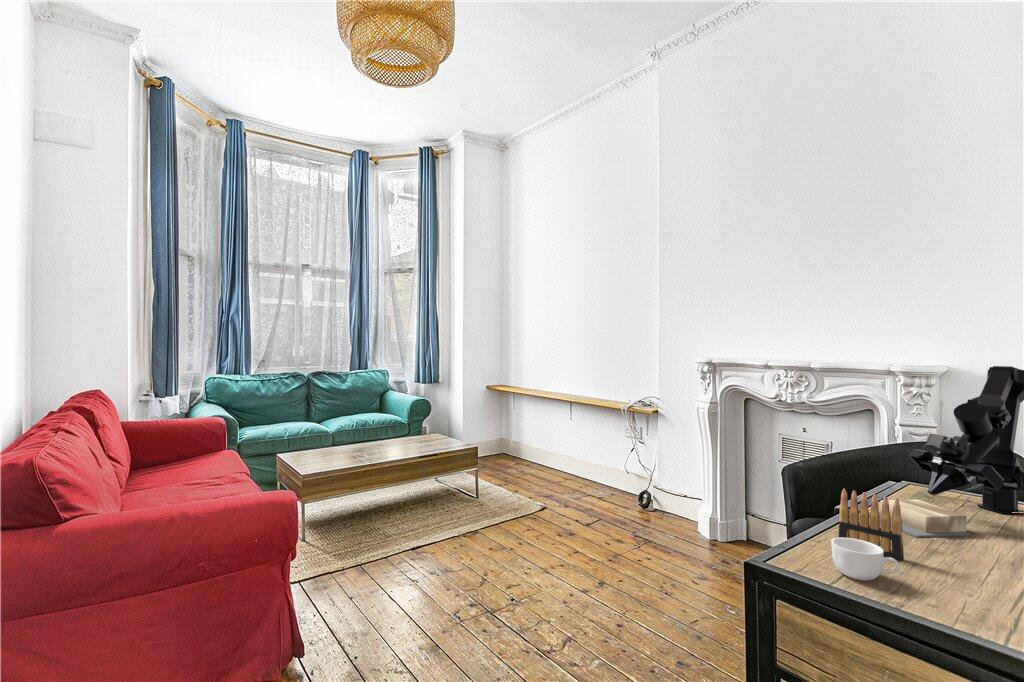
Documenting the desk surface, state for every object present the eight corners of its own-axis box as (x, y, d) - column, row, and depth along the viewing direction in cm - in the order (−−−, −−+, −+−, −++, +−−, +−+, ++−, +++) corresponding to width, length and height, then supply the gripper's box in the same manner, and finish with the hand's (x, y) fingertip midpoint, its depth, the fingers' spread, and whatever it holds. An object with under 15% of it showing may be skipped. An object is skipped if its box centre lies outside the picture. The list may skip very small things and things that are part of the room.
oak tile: (917, 499, 123) (880, 500, 122) (966, 515, 111) (925, 516, 110) (917, 513, 123) (880, 514, 122) (966, 531, 111) (925, 532, 110)
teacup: (828, 576, 89) (828, 546, 89) (833, 562, 95) (833, 534, 95) (899, 593, 83) (899, 561, 83) (899, 577, 89) (899, 547, 89)
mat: (909, 513, 124) (909, 511, 124) (970, 535, 109) (969, 534, 109) (861, 514, 123) (861, 512, 123) (916, 537, 108) (916, 535, 108)
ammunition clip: (837, 545, 103) (837, 488, 103) (840, 543, 104) (840, 486, 104) (902, 562, 95) (901, 500, 95) (903, 559, 96) (903, 498, 97)
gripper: (914, 417, 126) (875, 460, 125) (992, 429, 108) (946, 480, 107) (942, 447, 127) (903, 491, 126) (1024, 464, 109) (979, 516, 107)
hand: (930, 493), depth 116 cm, fingers closed
